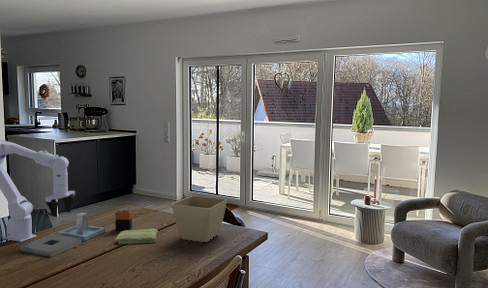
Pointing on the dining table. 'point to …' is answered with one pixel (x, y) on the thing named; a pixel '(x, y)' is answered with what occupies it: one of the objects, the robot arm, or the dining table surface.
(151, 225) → the dining table surface
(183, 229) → the flower pot
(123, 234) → the washcloth
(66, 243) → the pin plate
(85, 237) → the tray
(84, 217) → the pin
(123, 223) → the battery
